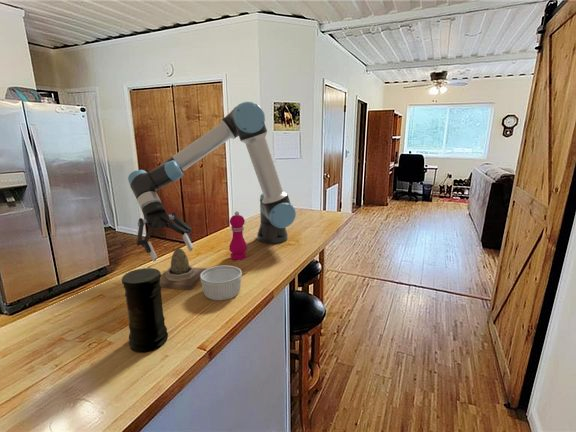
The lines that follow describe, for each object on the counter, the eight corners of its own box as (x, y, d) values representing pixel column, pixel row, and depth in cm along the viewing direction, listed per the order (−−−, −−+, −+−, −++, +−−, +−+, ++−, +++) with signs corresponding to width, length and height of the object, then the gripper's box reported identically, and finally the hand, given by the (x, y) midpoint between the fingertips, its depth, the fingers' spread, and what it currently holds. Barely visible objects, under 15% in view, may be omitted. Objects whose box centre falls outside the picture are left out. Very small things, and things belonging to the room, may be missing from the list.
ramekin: (198, 287, 106) (197, 268, 104) (236, 280, 111) (236, 262, 110) (204, 306, 94) (203, 285, 93) (247, 298, 100) (246, 278, 98)
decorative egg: (172, 280, 108) (170, 252, 106) (170, 273, 113) (168, 247, 111) (190, 276, 111) (188, 250, 108) (187, 270, 116) (185, 244, 113)
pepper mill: (243, 261, 128) (242, 214, 123) (227, 260, 129) (224, 213, 124) (249, 255, 135) (248, 209, 130) (233, 253, 136) (231, 209, 131)
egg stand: (207, 272, 118) (206, 263, 117) (190, 289, 104) (189, 280, 104) (172, 269, 120) (171, 261, 119) (151, 286, 107) (150, 277, 106)
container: (137, 331, 82) (128, 267, 78) (172, 329, 83) (166, 266, 79) (122, 354, 74) (112, 284, 69) (162, 352, 74) (154, 282, 70)
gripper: (179, 207, 129) (201, 250, 123) (114, 218, 112) (136, 269, 106) (185, 196, 124) (208, 240, 118) (117, 205, 107) (140, 258, 101)
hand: (174, 254), depth 112 cm, fingers open, 13 cm apart
